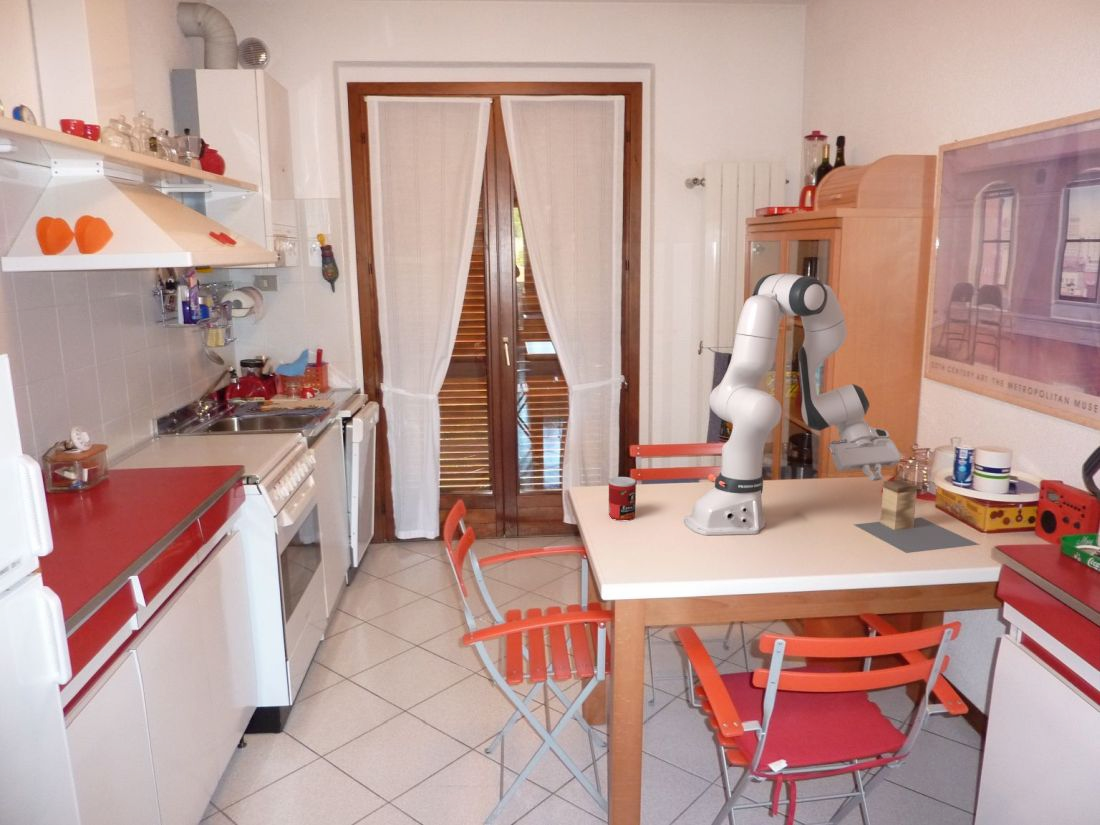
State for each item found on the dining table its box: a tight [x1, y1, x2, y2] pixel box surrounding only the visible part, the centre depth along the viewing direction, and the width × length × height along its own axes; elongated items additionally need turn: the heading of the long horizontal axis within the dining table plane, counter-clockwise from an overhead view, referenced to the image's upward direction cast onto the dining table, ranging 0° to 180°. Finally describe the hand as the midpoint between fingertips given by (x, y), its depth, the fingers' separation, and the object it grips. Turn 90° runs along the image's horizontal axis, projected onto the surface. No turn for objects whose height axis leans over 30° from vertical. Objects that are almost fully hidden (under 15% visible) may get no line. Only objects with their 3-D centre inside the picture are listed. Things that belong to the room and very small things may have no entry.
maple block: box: [879, 479, 918, 530], centre depth 220 cm, size 6×6×12 cm
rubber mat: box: [852, 517, 980, 554], centre depth 215 cm, size 22×22×1 cm
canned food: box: [608, 476, 637, 521], centre depth 231 cm, size 8×8×11 cm
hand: (876, 479), depth 229 cm, fingers closed
